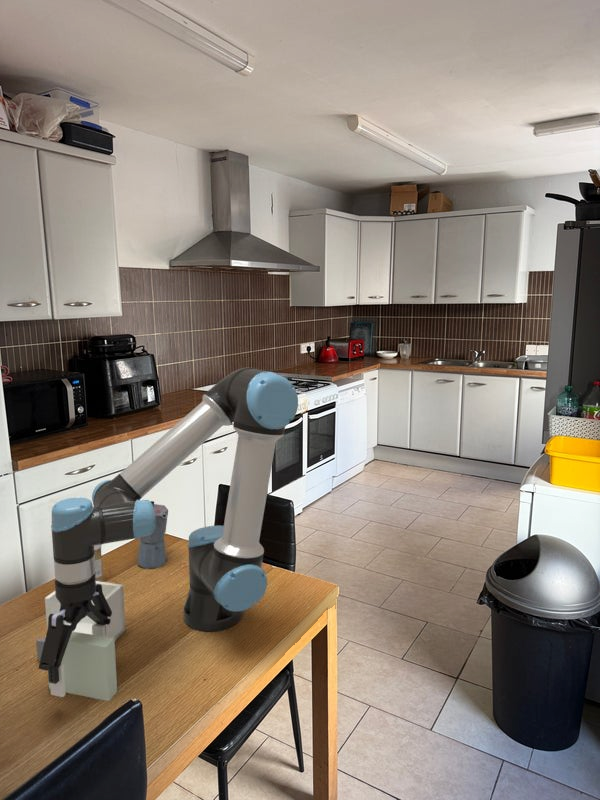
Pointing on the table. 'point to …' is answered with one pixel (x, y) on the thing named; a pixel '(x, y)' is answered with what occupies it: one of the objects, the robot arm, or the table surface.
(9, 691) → the table surface
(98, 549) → the sprinkles bottle
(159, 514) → the moka pot
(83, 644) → the door
